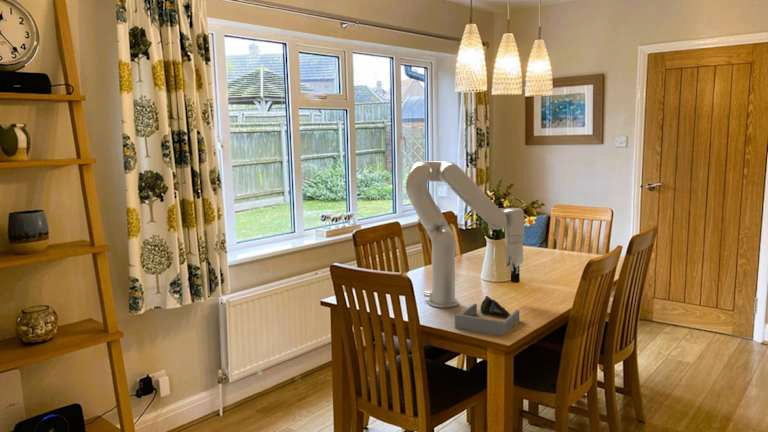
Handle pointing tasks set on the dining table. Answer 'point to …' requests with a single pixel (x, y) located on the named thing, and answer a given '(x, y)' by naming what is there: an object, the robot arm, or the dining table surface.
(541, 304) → the dining table surface
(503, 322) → the box
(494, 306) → the chocolate cake
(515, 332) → the dining table surface
